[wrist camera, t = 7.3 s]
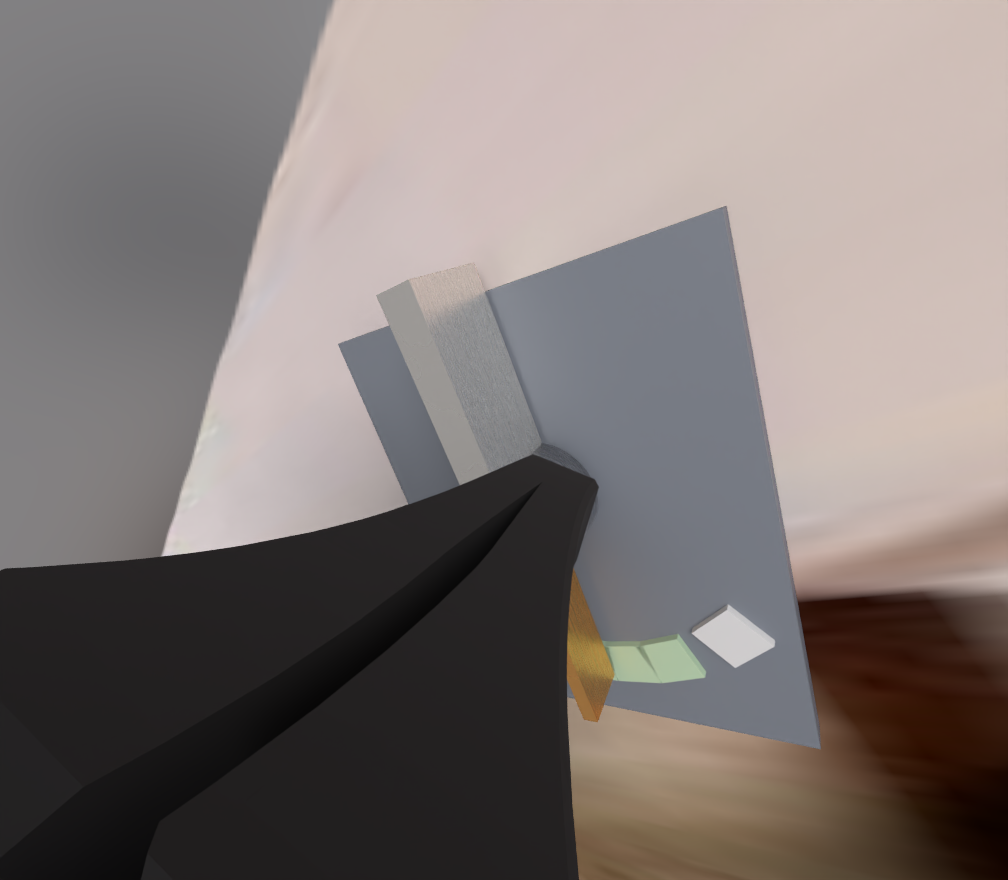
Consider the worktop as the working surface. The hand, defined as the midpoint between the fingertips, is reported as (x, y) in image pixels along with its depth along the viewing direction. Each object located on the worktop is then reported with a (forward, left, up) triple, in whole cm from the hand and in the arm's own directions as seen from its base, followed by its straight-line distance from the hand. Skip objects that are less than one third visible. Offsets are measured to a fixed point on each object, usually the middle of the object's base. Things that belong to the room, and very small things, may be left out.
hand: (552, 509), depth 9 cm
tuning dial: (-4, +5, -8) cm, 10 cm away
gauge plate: (-6, +5, -9) cm, 12 cm away
